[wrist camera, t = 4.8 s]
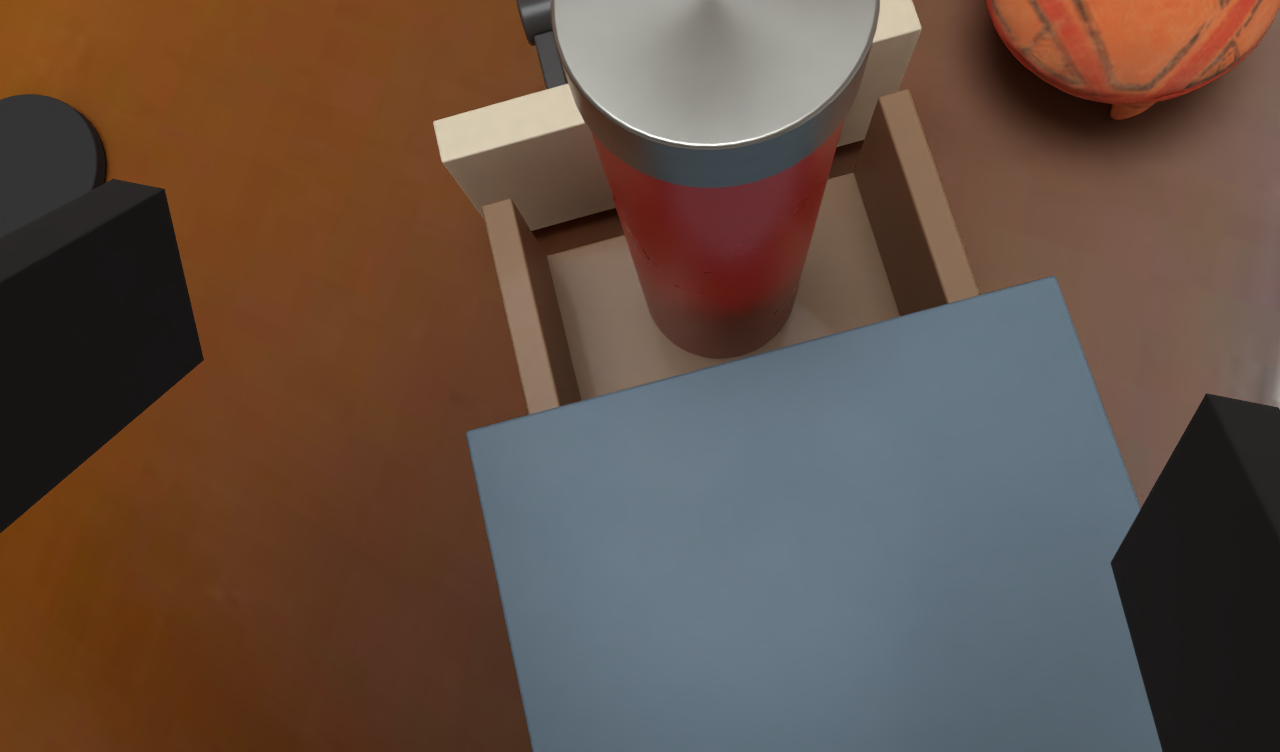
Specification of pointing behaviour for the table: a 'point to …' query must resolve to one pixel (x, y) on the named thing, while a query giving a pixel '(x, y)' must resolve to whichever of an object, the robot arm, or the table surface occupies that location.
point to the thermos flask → (716, 145)
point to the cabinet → (827, 548)
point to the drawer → (604, 271)
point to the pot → (1131, 44)
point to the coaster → (44, 158)
